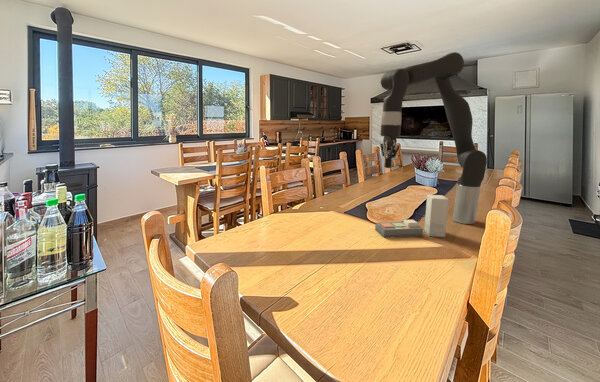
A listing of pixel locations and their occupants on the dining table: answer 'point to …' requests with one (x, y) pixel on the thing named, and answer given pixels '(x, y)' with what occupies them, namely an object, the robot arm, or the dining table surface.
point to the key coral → (386, 225)
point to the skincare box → (436, 215)
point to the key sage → (398, 225)
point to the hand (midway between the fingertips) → (387, 167)
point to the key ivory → (410, 223)
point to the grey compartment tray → (398, 231)
